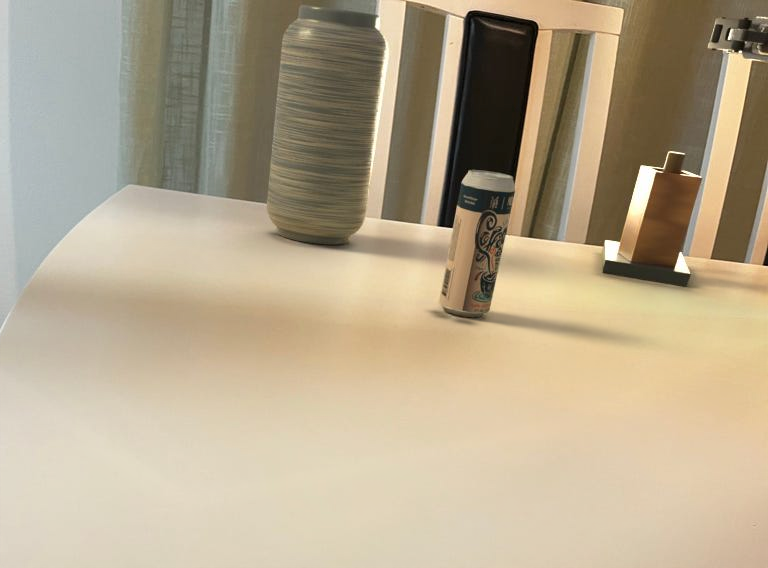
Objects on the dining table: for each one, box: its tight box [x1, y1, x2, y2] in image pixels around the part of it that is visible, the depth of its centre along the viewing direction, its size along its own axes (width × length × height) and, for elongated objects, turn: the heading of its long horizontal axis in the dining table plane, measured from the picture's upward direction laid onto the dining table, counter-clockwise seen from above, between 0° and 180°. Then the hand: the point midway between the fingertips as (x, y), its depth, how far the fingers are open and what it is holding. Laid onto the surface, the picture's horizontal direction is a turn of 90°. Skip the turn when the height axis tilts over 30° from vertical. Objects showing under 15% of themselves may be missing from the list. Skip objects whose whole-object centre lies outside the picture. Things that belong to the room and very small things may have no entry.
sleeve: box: [617, 165, 703, 267], centre depth 121 cm, size 6×6×10 cm
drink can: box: [438, 169, 516, 318], centre depth 92 cm, size 5×5×12 cm
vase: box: [266, 4, 390, 246], centre depth 113 cm, size 12×12×23 cm
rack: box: [601, 151, 692, 287], centre depth 123 cm, size 10×16×14 cm, turn 165°
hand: (763, 41), depth 100 cm, fingers open, 8 cm apart
